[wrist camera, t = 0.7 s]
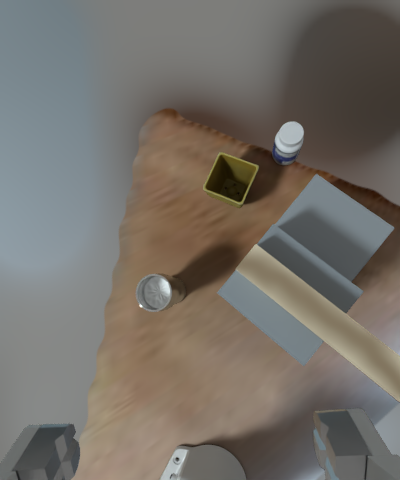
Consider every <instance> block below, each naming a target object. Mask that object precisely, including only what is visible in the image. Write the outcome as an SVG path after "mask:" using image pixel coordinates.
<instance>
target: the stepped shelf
mask: <svg viewBox="0 0 400 480" xmlns="http://www.w3.org/2000/svg"><path fill="white" fill-rule="evenodd" d="M393 229H394V227H393V226H391V225H390V224H388V223H387V222H385V221H384V220H383V219H381V218H380V217H378V216H377V215H375V214H374V213H372V212H371V211H369V210H368V209H367V208H365V207H364V206H362V205H361V204H359V203H358V202H356V201H355V200H353V199H352V198H351V197H349V196H348V195H346V194H345V193H343V192H342V191H340V190H339V189H338V188H336V187H335V186H333V185H332V184H330V183H329V182H327V181H326V180H324V179H323V178H322V177H320V176H319V175H317V174H316V175H315V176H314V177H313V179H312V180H311V181H310V182H309V184H308V185H307V186H306V187H305V189H304V190H303V191H302V192H301V193H300V195H299V196H298V197H297V198H296V200H295V201H294V202H293V203H292V204H291V206H290V207H289V208H288V209H287V211H286V212H285V213H284V214H283V216H282V217H281V218H280V219H279V220H278V222H277V223H276V224H273V225H272V226H271V227H270V229H269V230H268V231H267V232H266V234H265V235H264V236H263V237H262V238H261V240H260V241H259V242H258V243H257V245H258V246H259V247H261V248H262V249H263V250H264V251H266V252H267V253H268V254H270V255H271V256H272V257H273V258H275V259H276V260H277V261H279V262H280V263H281V264H282V265H284V266H285V267H286V268H288V269H289V270H290V271H291V272H293V273H294V274H295V275H297V276H298V277H299V278H300V279H302V280H303V281H304V282H306V283H307V284H308V285H309V286H311V287H312V288H313V289H315V290H316V291H317V292H318V293H320V294H321V295H322V296H324V297H325V298H326V299H327V300H329V301H330V302H331V303H333V304H334V305H335V306H336V307H338V308H339V309H340V310H342V311H343V312H344V313H345V314H346V313H347V312H348V310H349V309H350V308H351V307H352V305H353V304H354V303H355V302H356V300H357V299H358V298H359V297H360V295H361V294H362V293H363V292H364V291H362V290H361V289H360V288H358V287H357V286H356V285H354V284H353V283H352V280H353V279H354V278H355V277H356V275H357V274H358V273H359V272H360V270H361V269H362V268H363V267H364V265H365V264H366V263H367V262H368V260H369V259H370V258H371V257H372V255H373V254H374V253H375V252H376V251H377V249H378V248H379V247H380V246H381V244H382V243H383V242H384V241H385V239H386V238H387V237H388V236H389V234H390V233H391V232H392V231H393ZM218 294H219V295H220V296H221V297H223V298H224V299H225V300H226V301H227V302H229V303H230V304H231V305H232V306H233V307H234V308H236V309H237V310H238V311H239V312H240V313H242V314H243V315H244V316H245V317H246V318H247V319H249V320H250V321H251V322H252V323H253V324H255V325H256V326H257V327H258V328H259V329H260V330H262V331H263V332H264V333H265V334H266V335H268V336H269V337H270V338H271V339H272V340H273V341H275V342H276V343H277V344H278V345H279V346H281V347H282V348H283V349H284V350H285V351H286V352H288V353H289V354H290V355H291V356H292V357H294V358H295V359H296V360H297V361H298V362H299V363H301V364H302V365H303V366H304V365H305V364H306V363H307V362H308V360H309V359H310V358H311V357H312V355H313V354H314V353H315V352H316V350H317V349H318V348H319V347H320V345H321V344H322V343H323V342H324V341H323V340H322V339H321V338H319V337H318V336H317V335H316V334H314V333H313V332H312V331H311V330H310V329H308V328H307V327H306V326H305V325H303V324H302V323H301V322H300V321H298V320H297V319H296V318H295V317H294V316H292V315H291V314H290V313H289V312H287V311H286V310H285V309H284V308H282V307H281V306H280V305H279V304H278V303H276V302H275V301H274V300H273V299H271V298H270V297H269V296H268V295H266V294H265V293H264V292H263V291H262V290H260V289H259V288H258V287H257V286H255V285H254V284H253V283H252V282H250V281H249V280H248V279H247V278H246V277H244V276H243V275H242V274H241V273H239V272H238V271H237V270H235V272H234V273H233V274H232V275H231V277H230V278H229V279H228V280H227V281H226V283H225V284H224V285H223V286H222V288H221V289H220V290H219V291H218Z"/></svg>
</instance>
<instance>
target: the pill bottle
mask: <svg viewBox="0 0 400 480" xmlns="http://www.w3.org/2000/svg"><path fill="white" fill-rule="evenodd" d="M303 135H304V130H303V127H302V126H301V125H300V124H299V123H296V122H288V123H286V124H284V125H283V126H282V127H281V129H280V131H279V132H278V133H277V135H276V137H275V142H274V146H273V151H272V156H273V159H274V160H275V161H276V162H277V163H278V164H281V165H289V164H291V163H293V162H294V161H295V160H296V159H297V157H298V154H299V152H300V149H301V147H302V144H303V140H304V139H303Z"/></svg>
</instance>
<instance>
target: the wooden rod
mask: <svg viewBox="0 0 400 480" xmlns="http://www.w3.org/2000/svg"><path fill="white" fill-rule="evenodd" d="M236 270H237V271H238V272H239V273H241V274H242V275H243V276H244V277H246V278H247V279H248V280H249V281H250V282H252V283H253V284H254V285H255V286H257V287H258V288H259V289H260V290H262V291H263V292H264V293H265V294H266V295H268V296H269V297H270V298H271V299H273V300H274V301H275V302H276V303H278V304H279V305H280V306H281V307H282V308H284V309H285V310H286V311H287V312H289V313H290V314H291V315H292V316H294V317H295V318H296V319H297V320H298V321H300V322H301V323H302V324H303V325H305V326H306V327H307V328H308V329H310V330H311V331H312V332H313V333H314V334H316V335H317V336H318V337H319V338H321V339H322V340H323V341H324V342H326V343H327V344H328V345H329V346H330V347H332V348H333V349H334V350H335V351H337V352H338V353H339V354H340V355H342V356H343V357H344V358H345V359H346V360H348V361H349V362H350V363H351V364H353V365H354V366H355V367H356V368H357V369H359V370H360V371H361V372H362V373H364V374H365V375H366V376H367V377H369V378H370V379H371V380H372V381H373V382H375V383H376V384H377V385H378V386H380V387H381V388H382V389H383V390H385V391H386V392H387V393H388V394H389V395H391V396H392V397H393V398H394V399H396V400H397V401H398V402H400V356H399V355H398V354H397V353H395V352H394V351H393V350H392V349H390V348H389V347H388V346H386V345H385V344H384V343H383V342H381V341H380V340H379V339H377V338H376V337H375V336H374V335H372V334H371V333H370V332H368V331H367V330H366V329H365V328H363V327H362V326H361V325H359V324H358V323H357V322H356V321H354V320H353V319H352V318H350V317H349V316H348V315H347V314H345V313H344V312H343V311H342V310H340V309H339V308H338V307H336V306H335V305H334V304H333V303H331V302H330V301H329V300H327V299H326V298H325V297H324V296H322V295H321V294H320V293H318V292H317V291H316V290H315V289H313V288H312V287H311V286H309V285H308V284H307V283H306V282H304V281H303V280H302V279H300V278H299V277H298V276H297V275H295V274H294V273H293V272H291V271H290V270H289V269H288V268H286V267H285V266H284V265H282V264H281V263H280V262H279V261H277V260H276V259H275V258H273V257H272V256H271V255H270V254H268V253H267V252H266V251H264V250H263V249H262V248H261V247H259V246H258V245H257V244H255V246H254V247H253V248H252V249H251V250H250V252H249V253H248V254H247V255H246V257H245V258H244V259H243V260H242V261H241V263H240V264H239V265H238V266H237V268H236Z"/></svg>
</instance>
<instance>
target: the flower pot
mask: <svg viewBox="0 0 400 480" xmlns="http://www.w3.org/2000/svg"><path fill="white" fill-rule="evenodd" d="M258 169H259V166H258V165H256V164H253V163H250V162H247V161H245V160H242V159H239V158H237V157H234V156H231V155H229V154H226V153H223V152H220V153H219V154H218V156H217V158H216V160H215V163H214V165H213V167H212V169H211V171H210V173H209V176H208V178H207V180H206V182H205V184H204V186H203V190H204V191H205V192H206V193H207V194H208V195H209V196H210V197H213V198H215V199H218V200H220V201H223V202H225V203H228V204H230V205H233V206H235V207H237V208H241V207H242V205H243V203H244V201H245V198H246V196H247V194H248V192H249V189H250V187H251V185H252V183H253V181H254V179H255V176H256V174H257V171H258ZM234 184H236V186H234ZM224 188H227V189H226V190H224ZM237 193H240V195H237ZM228 197H230V198H228Z"/></svg>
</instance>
